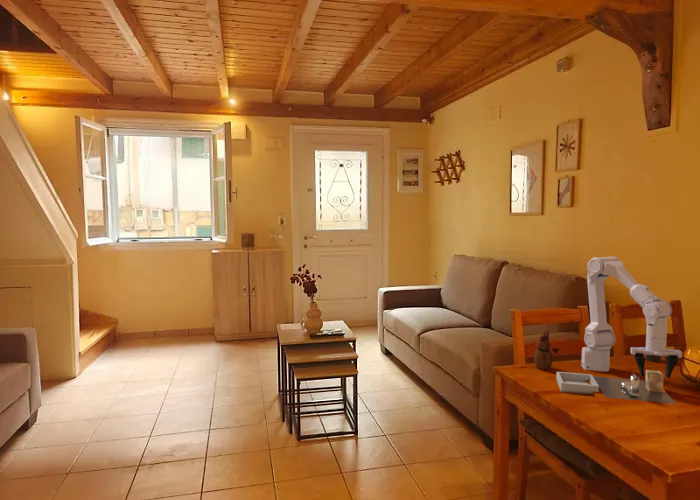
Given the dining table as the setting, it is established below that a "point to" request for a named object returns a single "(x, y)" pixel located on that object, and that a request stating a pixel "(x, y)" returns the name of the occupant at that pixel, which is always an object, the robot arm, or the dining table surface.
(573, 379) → the tray
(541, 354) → the wooden figurine
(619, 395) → the base plate
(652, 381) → the block
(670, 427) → the dining table surface
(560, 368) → the dining table surface
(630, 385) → the crank
